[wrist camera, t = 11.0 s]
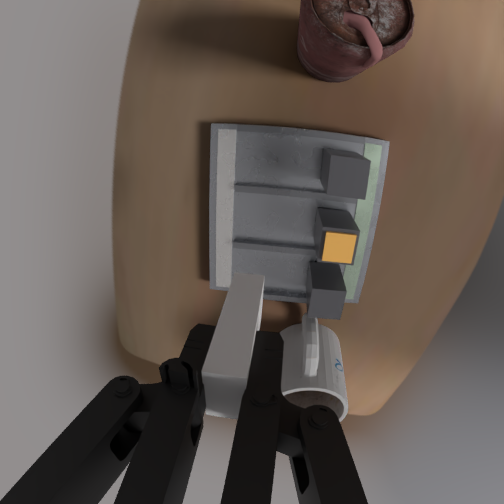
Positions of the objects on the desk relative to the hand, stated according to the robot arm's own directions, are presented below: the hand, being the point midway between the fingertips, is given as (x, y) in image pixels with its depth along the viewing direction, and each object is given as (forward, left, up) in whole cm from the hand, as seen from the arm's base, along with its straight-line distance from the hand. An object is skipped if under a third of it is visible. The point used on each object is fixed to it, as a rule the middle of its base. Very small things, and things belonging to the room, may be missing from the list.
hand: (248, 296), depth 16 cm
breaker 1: (-5, +6, -14) cm, 16 cm away
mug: (+16, +6, -16) cm, 23 cm away
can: (-15, +5, -16) cm, 23 cm away
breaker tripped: (+1, +6, -14) cm, 15 cm away
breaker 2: (+6, +6, -14) cm, 16 cm away
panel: (+1, +2, -16) cm, 16 cm away
